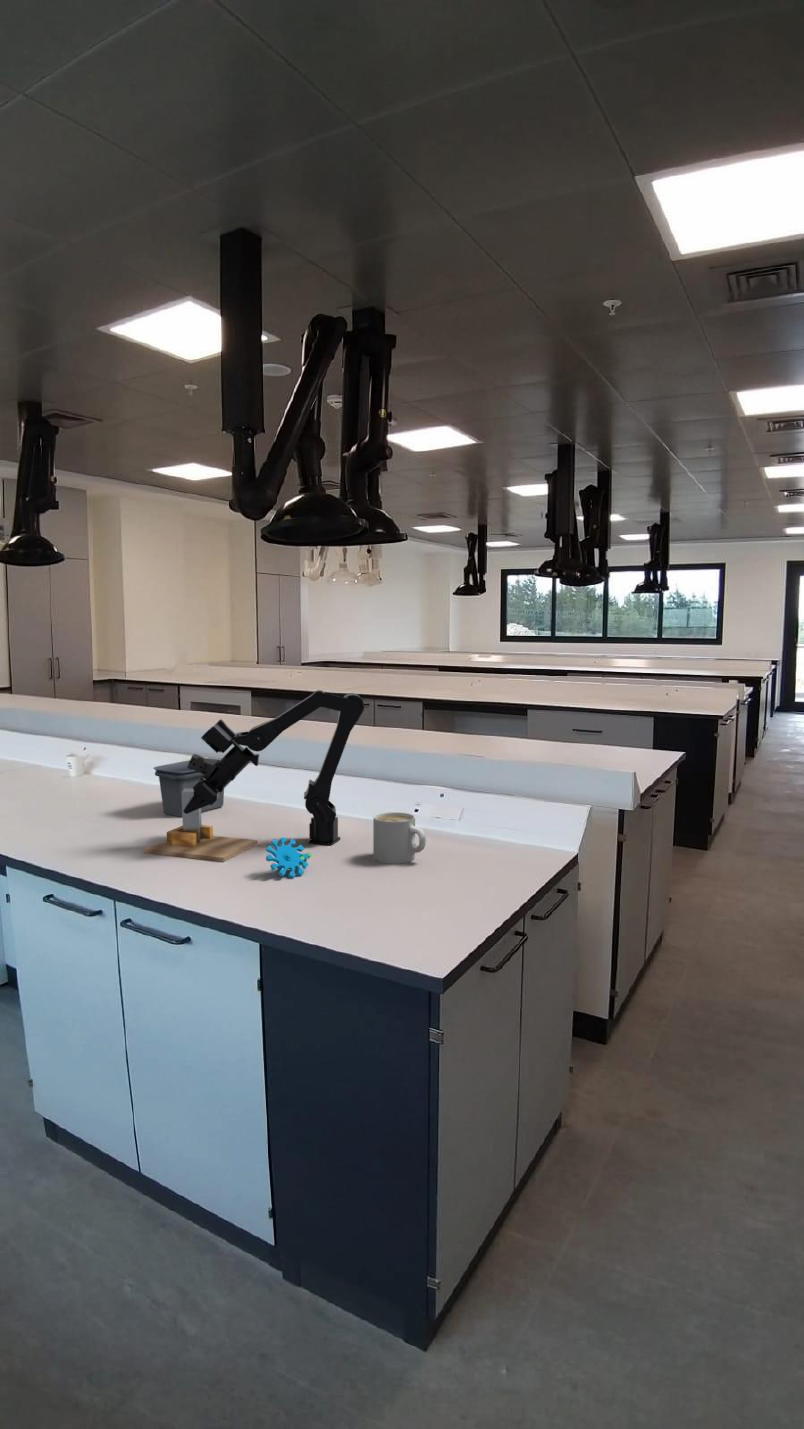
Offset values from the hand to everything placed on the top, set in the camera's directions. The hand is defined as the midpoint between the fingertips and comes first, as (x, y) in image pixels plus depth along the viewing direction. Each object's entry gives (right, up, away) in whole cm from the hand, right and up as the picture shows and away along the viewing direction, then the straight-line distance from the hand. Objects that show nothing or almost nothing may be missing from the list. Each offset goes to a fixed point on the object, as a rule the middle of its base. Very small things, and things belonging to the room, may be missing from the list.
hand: (186, 809), depth 190 cm
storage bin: (-9, -5, +38) cm, 40 cm away
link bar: (+1, -8, +1) cm, 8 cm away
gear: (+29, -12, -21) cm, 38 cm away
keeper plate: (+5, -9, -2) cm, 11 cm away
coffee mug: (+54, -11, -10) cm, 55 cm away
